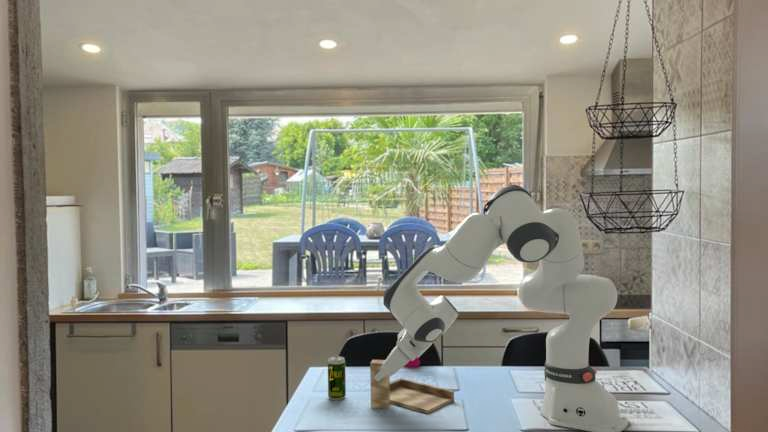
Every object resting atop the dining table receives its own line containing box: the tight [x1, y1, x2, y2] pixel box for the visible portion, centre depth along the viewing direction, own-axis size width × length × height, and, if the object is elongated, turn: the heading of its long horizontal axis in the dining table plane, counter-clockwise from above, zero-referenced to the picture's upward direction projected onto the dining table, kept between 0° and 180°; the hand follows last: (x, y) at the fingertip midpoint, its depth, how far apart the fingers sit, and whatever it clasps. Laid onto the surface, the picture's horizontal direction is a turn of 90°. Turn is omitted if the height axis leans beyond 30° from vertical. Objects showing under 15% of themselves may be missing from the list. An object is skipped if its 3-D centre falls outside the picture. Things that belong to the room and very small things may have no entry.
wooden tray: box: [390, 377, 455, 415], centre depth 168 cm, size 20×13×3 cm, turn 49°
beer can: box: [327, 356, 347, 401], centre depth 171 cm, size 5×5×12 cm
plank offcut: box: [369, 359, 391, 409], centre depth 163 cm, size 5×4×13 cm
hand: (379, 374), depth 163 cm, fingers open, 8 cm apart
